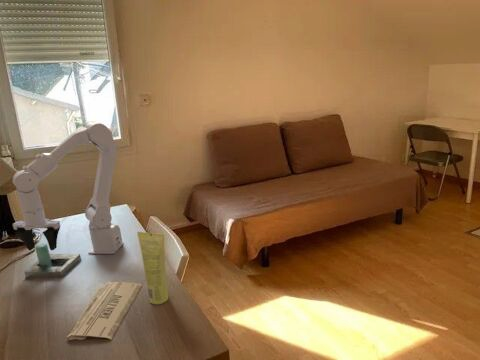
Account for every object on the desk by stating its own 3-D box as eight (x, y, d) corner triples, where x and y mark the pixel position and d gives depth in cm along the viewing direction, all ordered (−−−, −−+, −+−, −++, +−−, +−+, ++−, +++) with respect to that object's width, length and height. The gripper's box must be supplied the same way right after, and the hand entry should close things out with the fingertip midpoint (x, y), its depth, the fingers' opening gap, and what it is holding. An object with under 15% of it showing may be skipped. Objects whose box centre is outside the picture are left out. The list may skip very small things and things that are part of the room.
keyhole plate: (81, 259, 120) (79, 254, 119) (61, 277, 109) (60, 272, 109) (48, 259, 121) (46, 253, 121) (25, 277, 111) (24, 271, 110)
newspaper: (101, 287, 104) (100, 280, 103) (142, 291, 103) (142, 283, 102) (57, 344, 82) (56, 335, 82) (109, 349, 82) (109, 340, 81)
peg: (54, 265, 117) (49, 243, 114) (48, 271, 114) (42, 248, 111) (45, 265, 117) (39, 243, 115) (38, 271, 114) (32, 248, 112)
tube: (168, 291, 99) (159, 226, 93) (173, 300, 95) (164, 233, 89) (147, 297, 97) (137, 231, 91) (151, 307, 92) (141, 239, 87)
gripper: (1, 214, 107) (12, 255, 111) (45, 213, 105) (56, 255, 109) (17, 205, 113) (28, 244, 118) (60, 205, 112) (69, 244, 116)
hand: (42, 248), depth 114 cm, fingers open, 7 cm apart
